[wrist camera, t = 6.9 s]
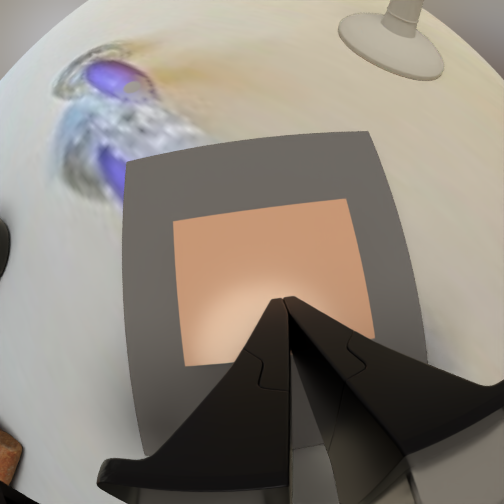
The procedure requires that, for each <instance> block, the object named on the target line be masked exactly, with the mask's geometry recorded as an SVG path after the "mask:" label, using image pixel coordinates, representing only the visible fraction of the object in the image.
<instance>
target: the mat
mask: <svg viewBox="0 0 504 504" xmlns="http://www.w3.org/2000/svg"><path fill="white" fill-rule="evenodd" d="M337 199H346V201H347V204H348V208H349V212H350V216H351V220H352V224H353V228H354V232H355V236H356V240H357V244H358V249H359V253H360V258H361V262H362V267H363V272H364V277H365V282H366V287H367V292H368V297H369V303H370V309H371V315H372V321H373V327H374V334H375V338H373V339H371V340H373V341H375V342H377V343H379V344H381V345H384V346H386V347H388V348H390V349H393V350H395V351H397V352H400V353H402V354H405V355H407V356H409V357H412V358H414V359H417V360H419V361H421V362H424V363H426V364H428V360H427V351H426V342H425V335H424V328H423V321H422V315H421V309H420V303H419V298H418V293H417V288H416V283H415V278H414V273H413V269H412V265H411V260H410V256H409V252H408V248H407V244H406V240H405V237H404V233H403V229H402V226H401V222H400V219H399V216H398V212H397V209H396V206H395V202H394V199H393V196H392V193H391V190H390V187H389V184H388V181H387V178H386V176H385V173H384V170H383V167H382V165H381V162H380V159H379V157H378V154H377V151H376V149H375V146H374V144H373V141H372V139H371V137H370V134H369V132H368V131H357V132H329V133H312V134H298V135H286V136H276V137H266V138H257V139H249V140H241V141H234V142H227V143H220V144H214V145H207V146H201V147H196V148H190V149H185V150H179V151H174V152H169V153H164V154H159V155H155V156H150V157H146V158H141V159H137V160H133V161H129V162H127V163H126V174H125V187H124V203H123V228H122V278H123V303H124V320H125V332H126V343H127V353H128V362H129V370H130V378H131V385H132V392H133V398H134V404H135V410H136V415H137V421H138V426H139V431H140V436H141V440H142V445H143V449H144V454H145V455H146V456H151V455H153V454H154V453H155V452H156V451H157V450H158V449H159V448H160V447H161V446H162V445H163V444H164V442H165V441H166V440H167V439H168V438H169V437H170V436H171V435H172V434H173V433H174V432H175V431H176V430H177V428H178V427H179V426H180V425H181V424H182V423H183V422H184V421H185V420H186V419H187V417H188V416H189V415H190V414H191V413H192V412H193V411H194V410H195V408H196V407H197V406H198V405H199V404H200V403H201V402H202V401H203V399H204V398H205V397H206V396H207V395H208V394H209V392H210V391H211V390H212V389H213V388H214V387H215V386H216V384H217V383H218V382H219V381H220V380H221V379H222V377H223V376H224V375H225V374H226V372H227V371H228V370H229V369H230V367H231V366H232V364H233V363H234V362H231V363H221V364H210V365H198V366H185V362H184V354H183V345H182V336H181V327H180V317H179V307H178V295H177V282H176V268H175V252H174V231H173V221H178V220H185V219H191V218H197V217H204V216H211V215H217V214H224V213H231V212H238V211H246V210H253V209H260V208H268V207H276V206H284V205H292V204H301V203H309V202H318V201H328V200H337ZM291 375H292V429H293V449H298V448H304V447H310V446H315V445H320V444H324V442H323V439H322V436H321V434H320V431H319V428H318V425H317V423H316V420H315V417H314V415H313V412H312V409H311V406H310V404H309V401H308V398H307V395H306V393H305V390H304V387H303V384H302V382H301V379H300V376H299V374H298V371H297V368H296V365H295V363H294V360H293V357H292V355H291Z"/></svg>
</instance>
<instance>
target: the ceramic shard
mask: <svg viewBox="0 0 504 504" xmlns="http://www.w3.org/2000/svg"><path fill="white" fill-rule="evenodd" d="M21 452H22V446H21V444H20V443H19V442H18V441H17V440H16V439H14V438H13V437H12V436H11V435H9V434H8V433H7V432H4V431H2V430H1V429H0V480H1V481H2V482H4V483H5V484H7V485H9V483H10V482H11V480H12V478H13V475H14V472H15V470H16V467H17V464H18V461H19V459H20V456H21Z"/></svg>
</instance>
